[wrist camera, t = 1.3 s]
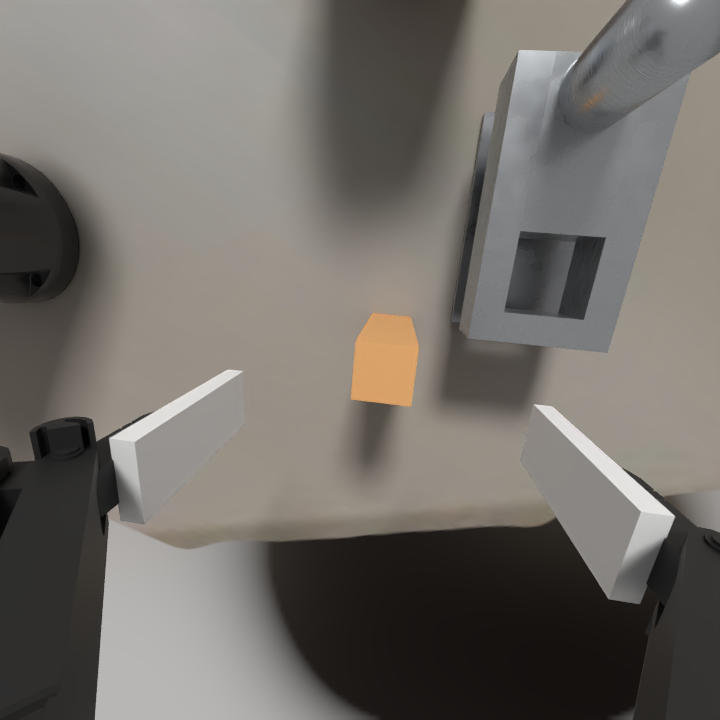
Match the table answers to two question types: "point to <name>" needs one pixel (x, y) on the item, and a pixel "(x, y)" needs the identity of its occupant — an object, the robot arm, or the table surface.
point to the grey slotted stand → (575, 176)
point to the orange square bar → (385, 361)
